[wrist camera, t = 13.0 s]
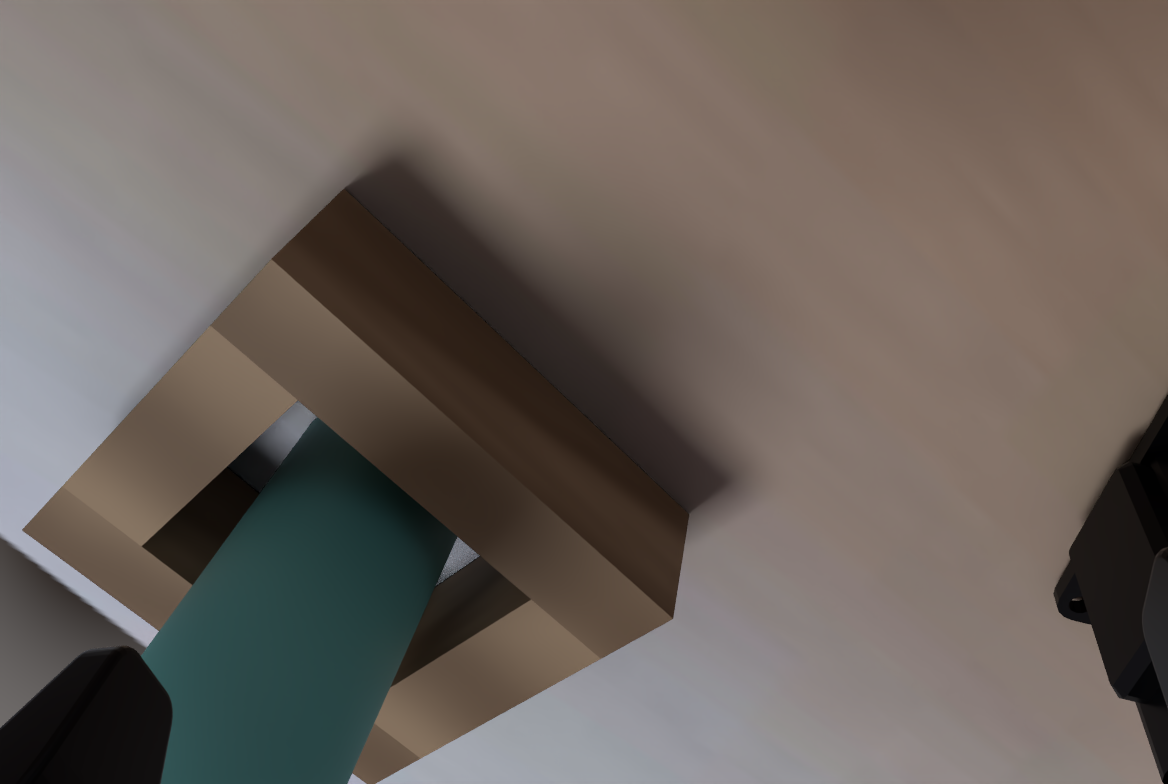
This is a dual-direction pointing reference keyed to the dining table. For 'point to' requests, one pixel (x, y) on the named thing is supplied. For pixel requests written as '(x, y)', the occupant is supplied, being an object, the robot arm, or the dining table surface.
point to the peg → (298, 623)
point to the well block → (405, 455)
